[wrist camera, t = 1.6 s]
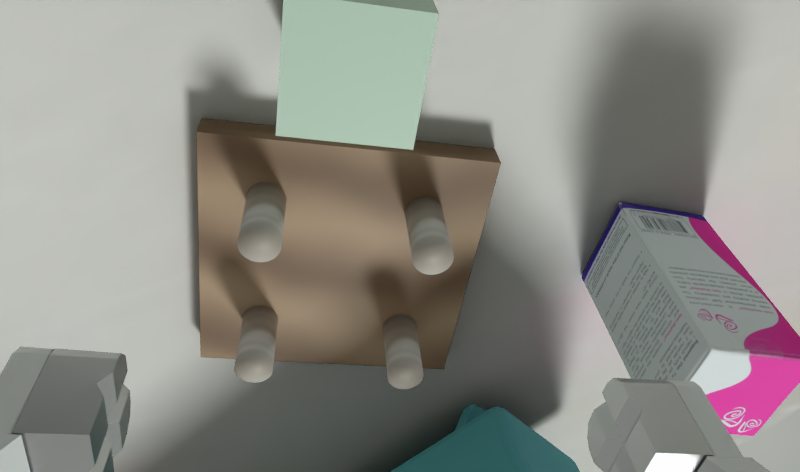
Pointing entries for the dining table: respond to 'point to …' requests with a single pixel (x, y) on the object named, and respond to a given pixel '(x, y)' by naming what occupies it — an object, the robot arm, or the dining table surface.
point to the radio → (490, 447)
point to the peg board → (334, 249)
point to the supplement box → (692, 314)
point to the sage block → (354, 70)
